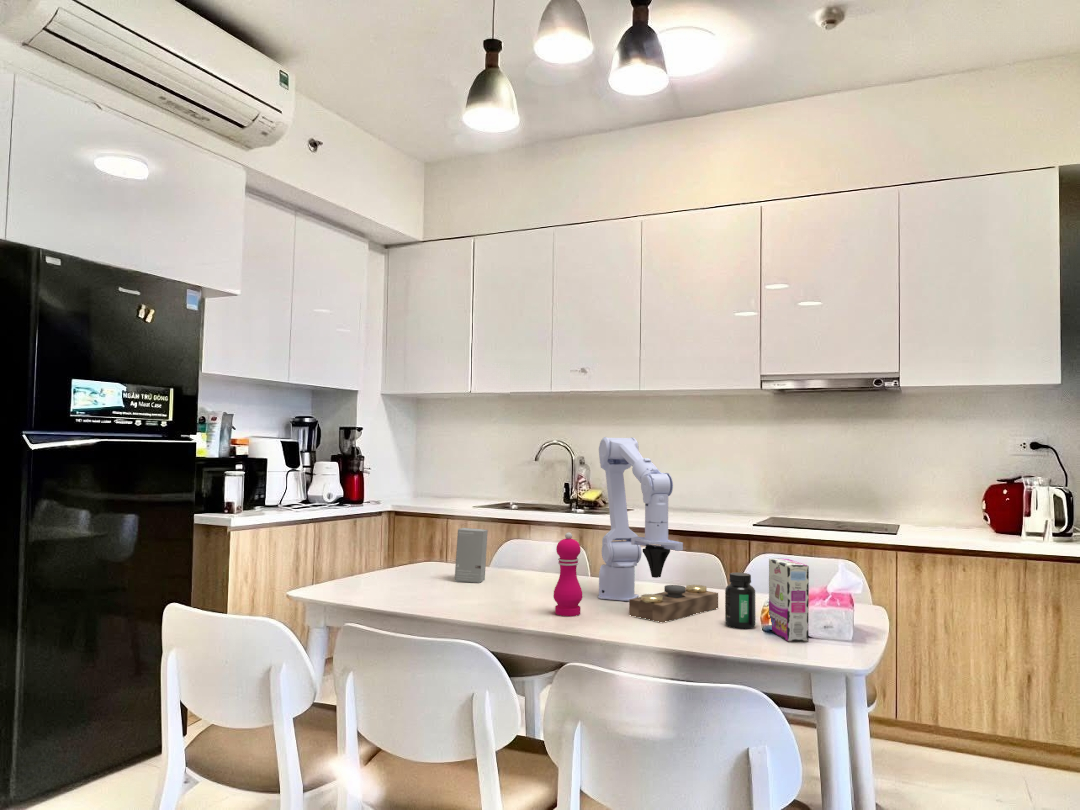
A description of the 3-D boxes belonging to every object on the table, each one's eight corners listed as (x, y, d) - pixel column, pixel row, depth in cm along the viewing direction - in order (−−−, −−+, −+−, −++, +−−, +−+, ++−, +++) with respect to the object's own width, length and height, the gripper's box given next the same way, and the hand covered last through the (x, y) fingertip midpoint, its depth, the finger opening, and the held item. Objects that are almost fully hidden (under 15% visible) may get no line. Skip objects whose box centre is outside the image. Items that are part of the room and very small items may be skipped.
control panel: (662, 623, 177) (662, 605, 178) (629, 615, 185) (629, 599, 185) (718, 608, 194) (718, 592, 194) (685, 602, 201) (685, 587, 201)
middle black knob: (677, 609, 186) (677, 589, 186) (660, 605, 189) (660, 586, 190) (689, 606, 189) (689, 587, 190) (672, 603, 193) (672, 584, 193)
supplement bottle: (750, 630, 171) (750, 577, 172) (721, 626, 175) (721, 574, 175) (759, 625, 177) (758, 573, 177) (730, 621, 180) (730, 570, 181)
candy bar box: (810, 642, 162) (809, 565, 162) (787, 642, 161) (787, 565, 162) (788, 629, 173) (788, 557, 174) (767, 629, 172) (767, 557, 173)
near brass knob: (653, 619, 179) (653, 599, 179) (636, 615, 183) (636, 595, 183) (666, 616, 183) (667, 596, 183) (649, 612, 186) (649, 593, 187)
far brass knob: (699, 608, 192) (699, 589, 193) (682, 605, 196) (682, 586, 196) (710, 605, 196) (710, 586, 196) (693, 602, 200) (693, 584, 200)
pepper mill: (585, 611, 188) (586, 531, 189) (577, 618, 182) (578, 534, 183) (558, 609, 191) (559, 530, 192) (549, 615, 184) (550, 533, 185)
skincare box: (454, 582, 227) (455, 529, 227) (460, 578, 234) (461, 526, 235) (481, 583, 225) (482, 530, 226) (487, 579, 232) (488, 527, 233)
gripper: (623, 520, 189) (623, 574, 189) (670, 525, 179) (670, 583, 178) (641, 518, 194) (640, 571, 194) (688, 523, 184) (687, 579, 183)
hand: (656, 577), depth 186 cm, fingers closed
